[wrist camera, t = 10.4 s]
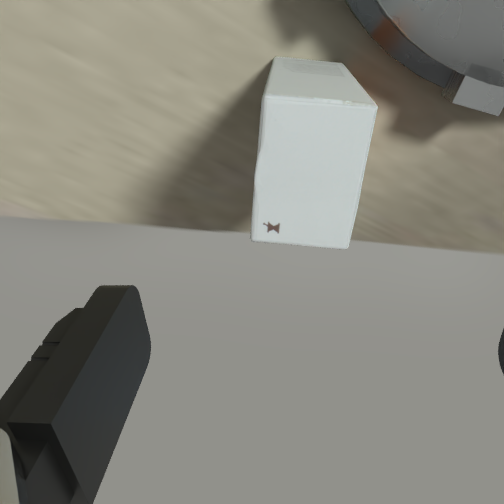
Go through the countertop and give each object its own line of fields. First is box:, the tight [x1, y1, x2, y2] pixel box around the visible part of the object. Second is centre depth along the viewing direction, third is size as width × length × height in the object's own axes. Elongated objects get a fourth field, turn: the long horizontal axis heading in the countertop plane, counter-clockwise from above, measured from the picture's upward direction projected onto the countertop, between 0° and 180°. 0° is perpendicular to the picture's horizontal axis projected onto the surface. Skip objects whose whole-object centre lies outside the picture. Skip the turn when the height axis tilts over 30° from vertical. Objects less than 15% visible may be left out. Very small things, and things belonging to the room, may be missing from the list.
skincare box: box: [250, 57, 378, 249], centre depth 21 cm, size 6×4×12 cm
